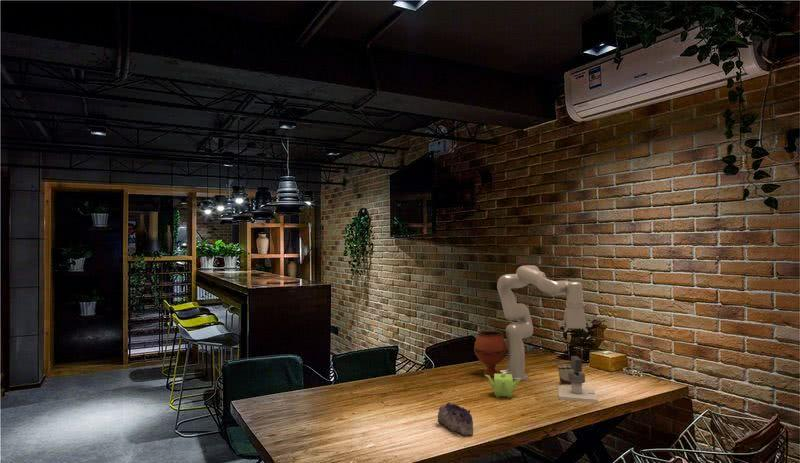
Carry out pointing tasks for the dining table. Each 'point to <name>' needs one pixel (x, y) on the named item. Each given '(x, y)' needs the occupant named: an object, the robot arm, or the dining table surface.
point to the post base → (576, 397)
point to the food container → (564, 373)
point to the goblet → (490, 349)
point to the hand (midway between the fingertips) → (575, 339)
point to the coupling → (576, 371)
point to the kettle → (503, 384)
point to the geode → (456, 419)
